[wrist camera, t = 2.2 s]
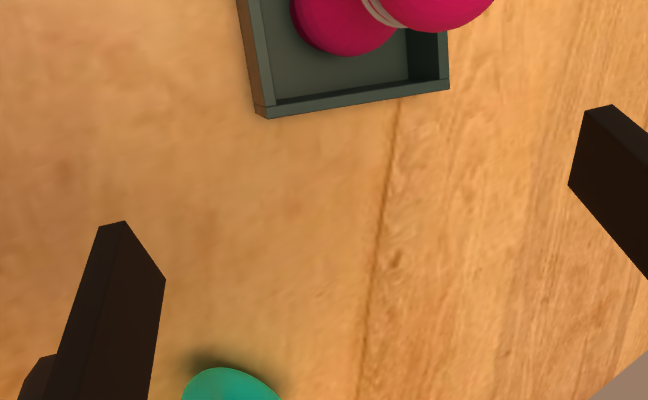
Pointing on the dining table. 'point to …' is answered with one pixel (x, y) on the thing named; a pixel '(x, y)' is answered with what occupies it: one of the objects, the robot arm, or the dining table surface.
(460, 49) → the dining table surface
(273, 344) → the dining table surface
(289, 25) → the bin
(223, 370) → the donuts
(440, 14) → the pepper mill
